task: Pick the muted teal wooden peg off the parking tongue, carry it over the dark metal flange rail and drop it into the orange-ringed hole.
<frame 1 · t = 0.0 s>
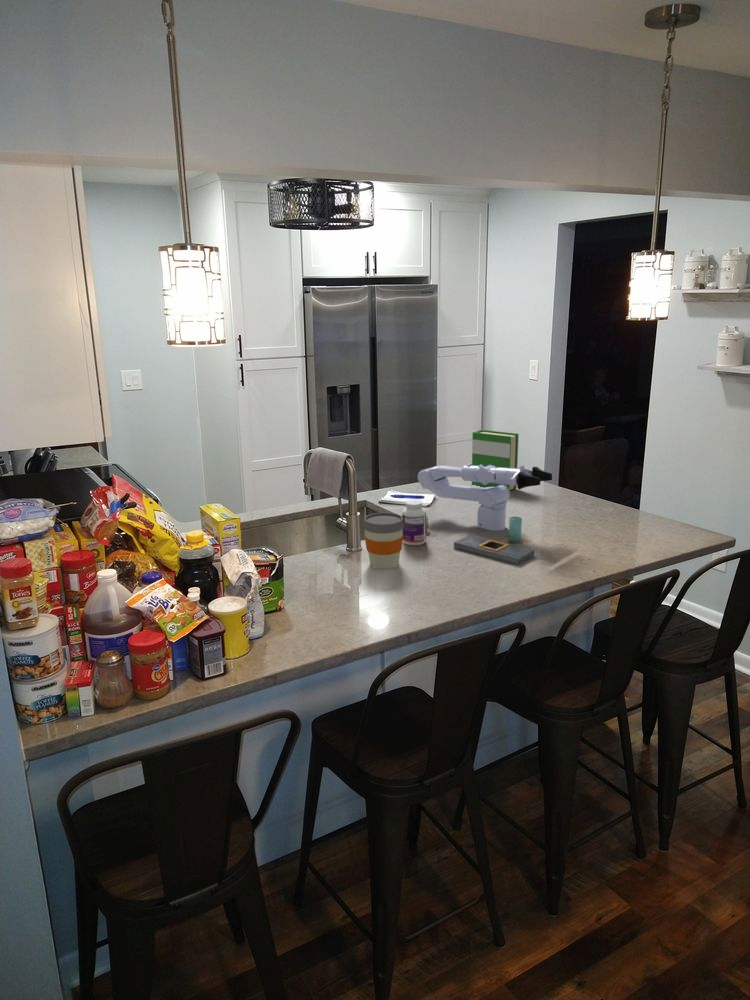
hand: (545, 479, 234), 22 cm above the countertop, tool horizontal, fingers open, 7 cm apart
reusable coffee cup: (384, 564, 223), on the countertop
peg: (514, 541, 238), point 1 cm above the countertop, touching parking tongue
parking tongue: (514, 544, 238), on the countertop
pill bottle: (414, 543, 241), on the countertop
hardback book: (493, 488, 305), on the countertop
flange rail: (493, 554, 229), on the countertop
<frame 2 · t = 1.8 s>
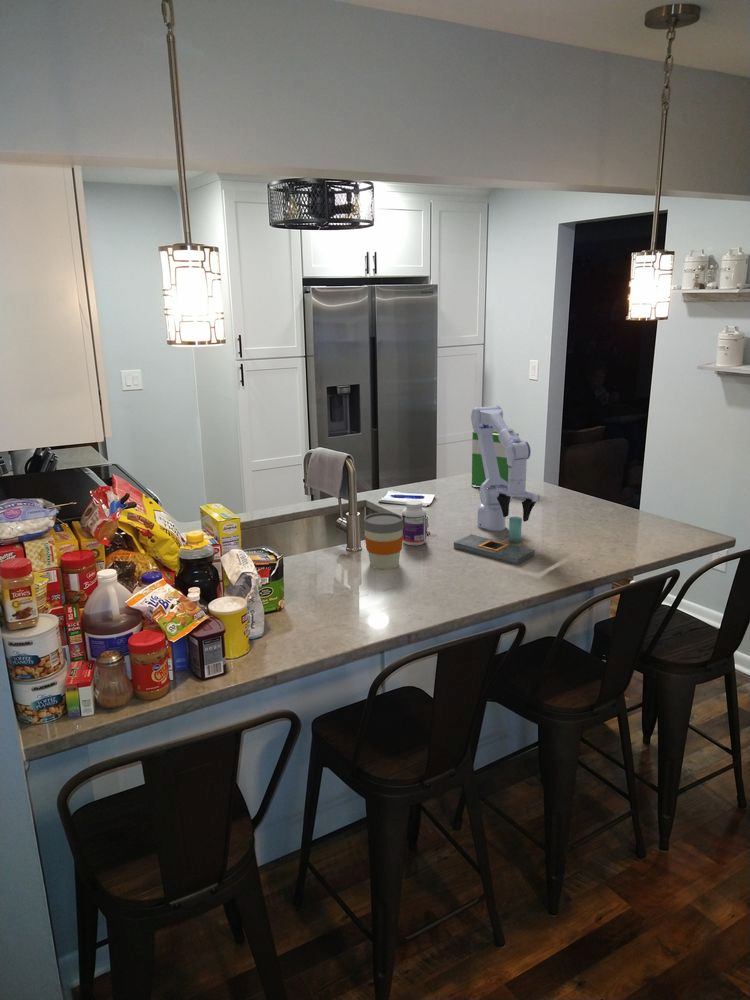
hand: (515, 518, 235), 9 cm above the countertop, tool pointing down, fingers open, 7 cm apart
nothing on the countertop moved.
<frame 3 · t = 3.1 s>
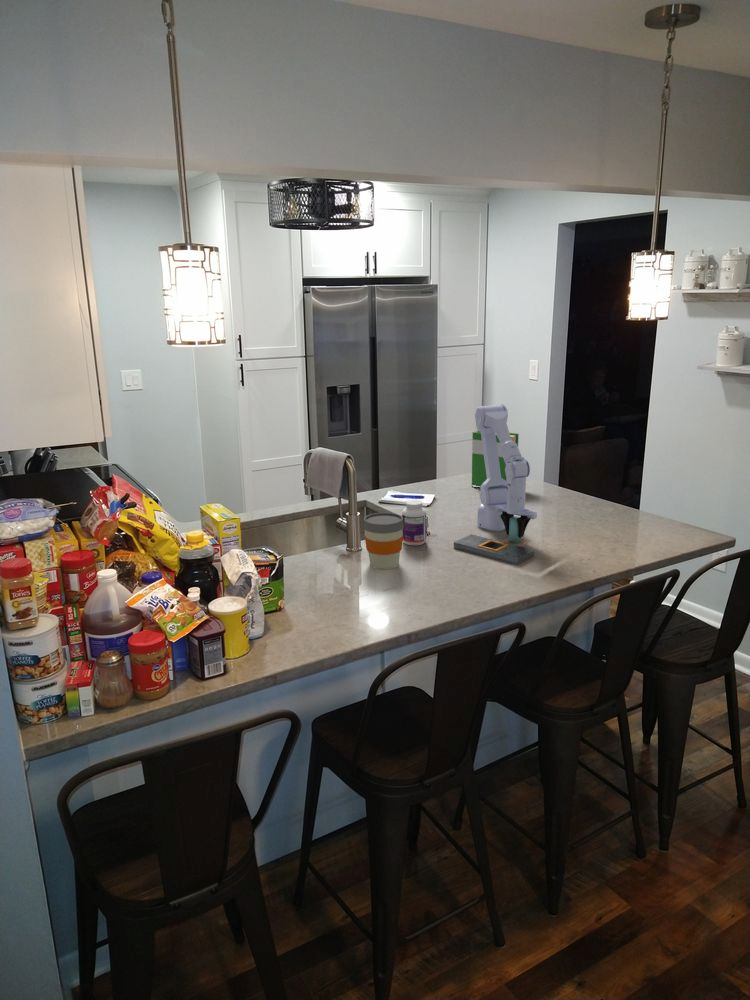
hand: (514, 535, 237), 3 cm above the countertop, tool pointing down, fingers closed on peg, 4 cm apart
peg: (514, 541, 238), point 1 cm above the countertop, touching gripper, parking tongue
everything else where it was.
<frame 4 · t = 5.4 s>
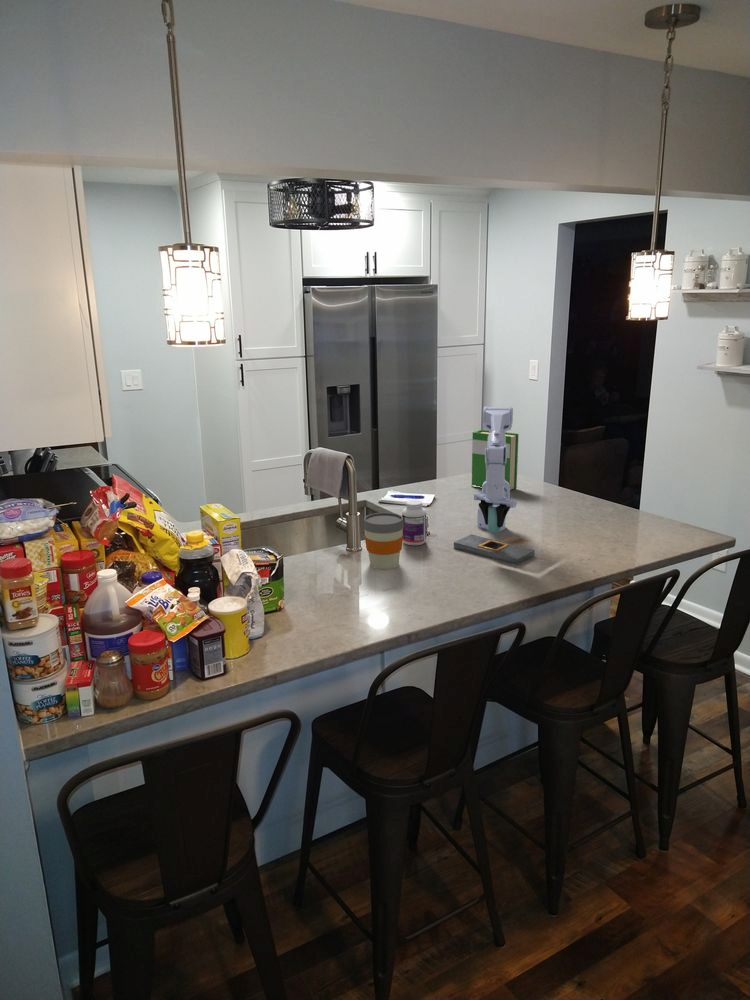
hand: (494, 525, 226), 10 cm above the countertop, tool pointing down, fingers closed on peg, 4 cm apart
peg: (493, 531, 227), point 8 cm above the countertop, touching gripper
everything else where it was.
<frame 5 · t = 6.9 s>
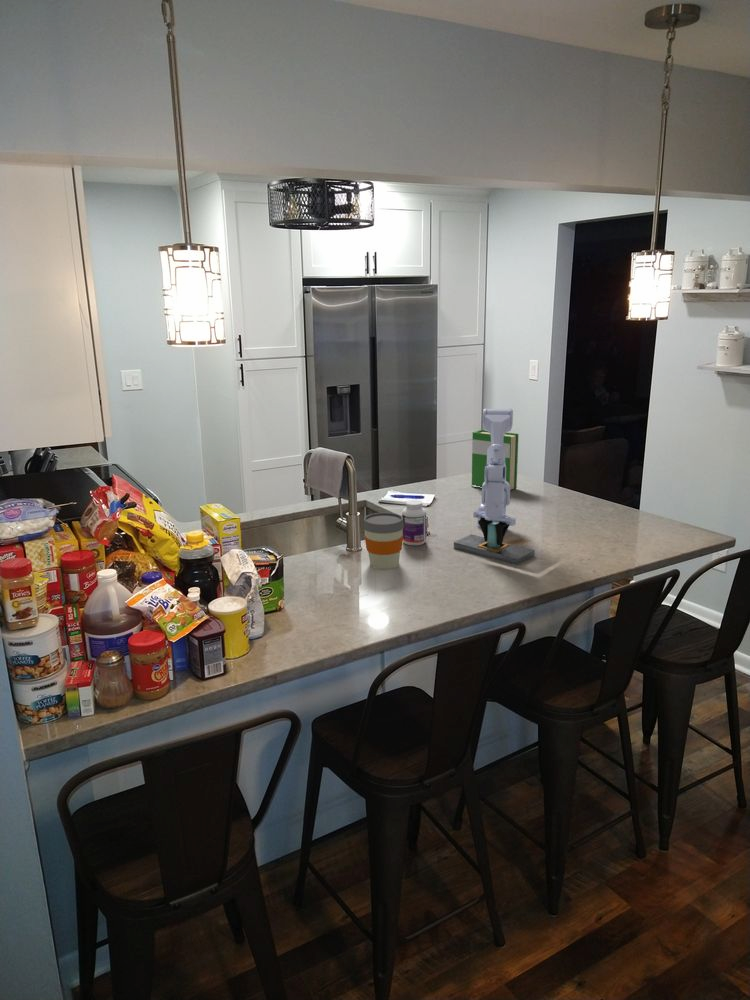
hand: (493, 542, 228), 4 cm above the countertop, tool pointing down, fingers closed on peg, 4 cm apart
peg: (493, 548, 228), point 2 cm above the countertop, touching gripper
everything else where it was.
when the fingers open (4 cm above the countertop, at t = 7.9 s): peg drops 2 cm, resting in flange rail.
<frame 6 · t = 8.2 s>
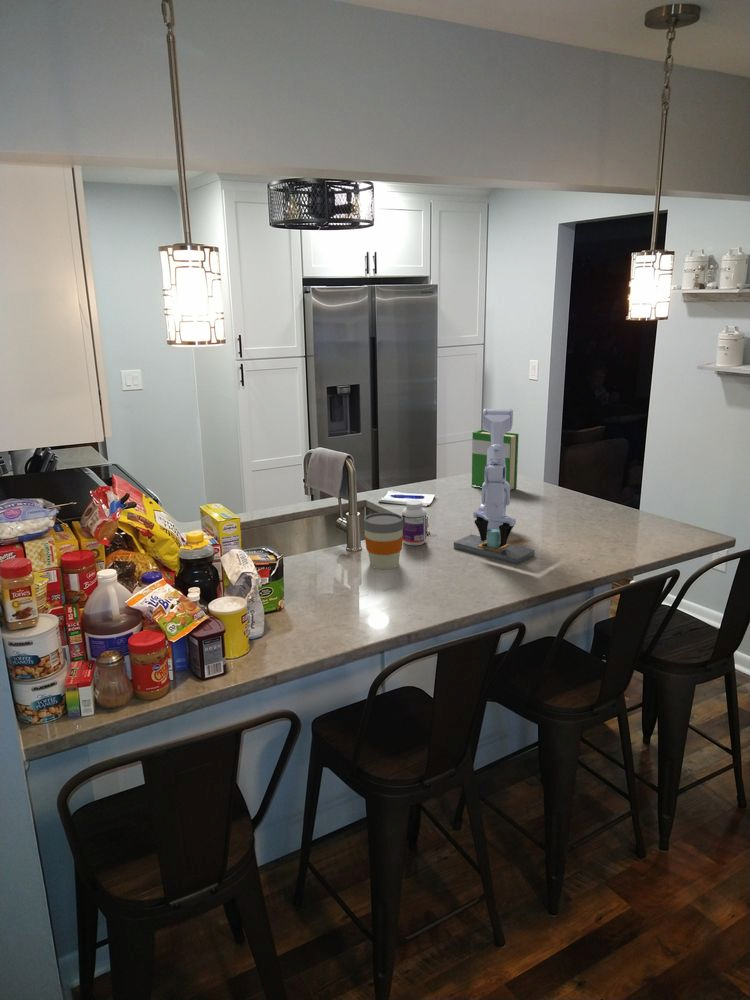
hand: (493, 542, 228), 4 cm above the countertop, tool pointing down, fingers open, 7 cm apart
peg: (493, 554, 229), resting in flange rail
everything else where it was.
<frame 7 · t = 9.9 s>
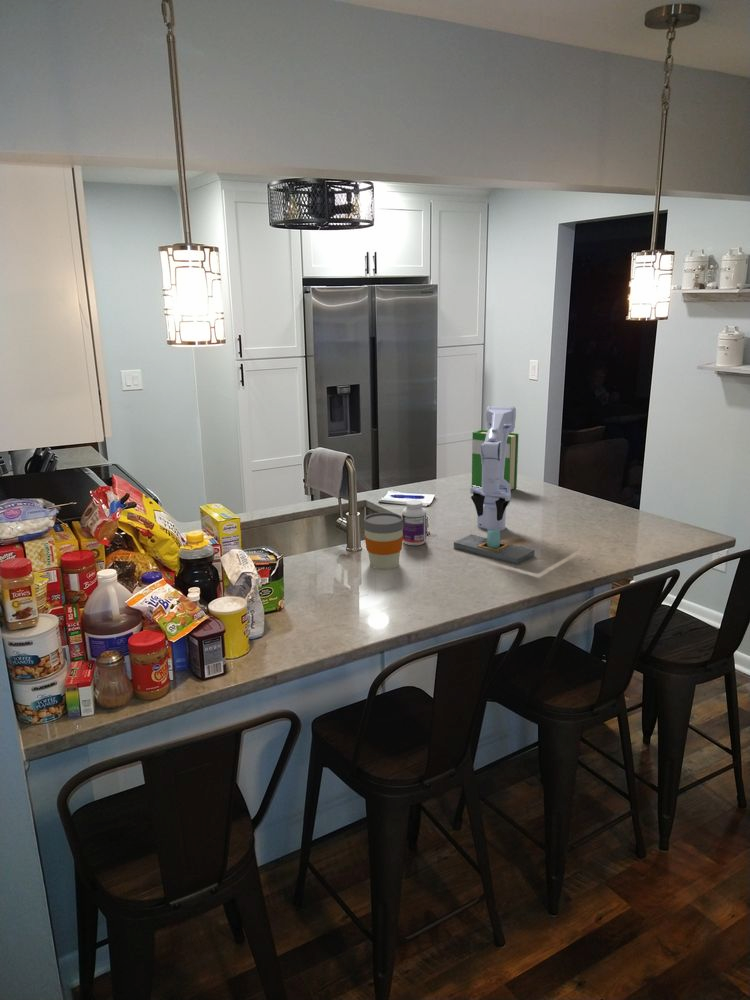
hand: (489, 517, 236), 9 cm above the countertop, tool pointing down, fingers open, 7 cm apart
nothing on the countertop moved.
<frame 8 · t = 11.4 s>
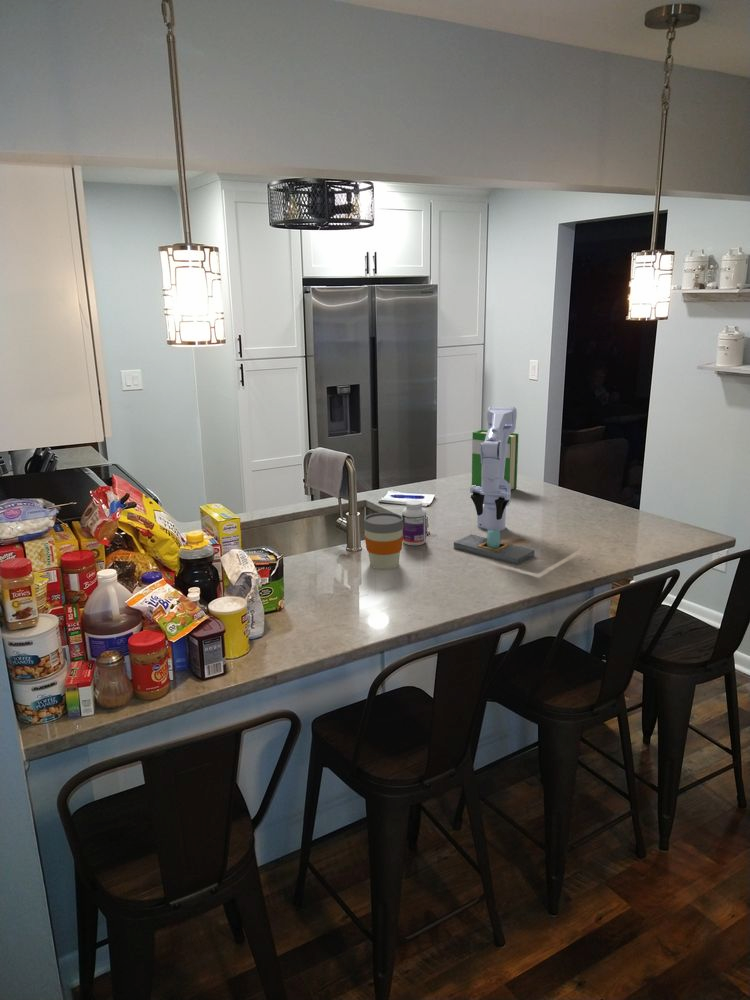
hand: (489, 516, 236), 9 cm above the countertop, tool pointing down, fingers open, 7 cm apart
nothing on the countertop moved.
at the end: peg 0.0 cm from the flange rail (horizontally); peg resting in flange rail; peg tilted 0° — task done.
